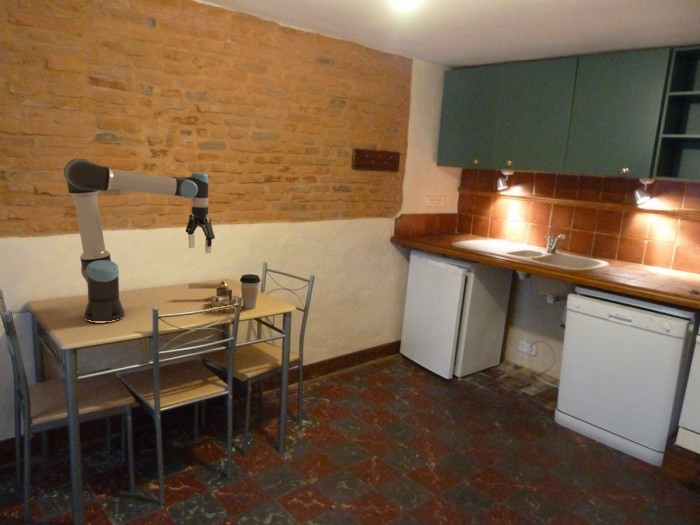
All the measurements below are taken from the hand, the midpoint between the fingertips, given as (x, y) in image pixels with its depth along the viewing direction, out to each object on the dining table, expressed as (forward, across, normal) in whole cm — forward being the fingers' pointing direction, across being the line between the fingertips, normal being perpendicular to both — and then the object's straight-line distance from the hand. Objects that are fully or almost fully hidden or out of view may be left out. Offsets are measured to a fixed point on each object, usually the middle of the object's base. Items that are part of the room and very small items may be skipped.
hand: (199, 250), depth 244 cm
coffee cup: (+24, +26, +10) cm, 37 cm away
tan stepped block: (+24, +20, 0) cm, 31 cm away
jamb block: (+24, +8, +8) cm, 26 cm away
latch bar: (+18, +4, +2) cm, 19 cm away
